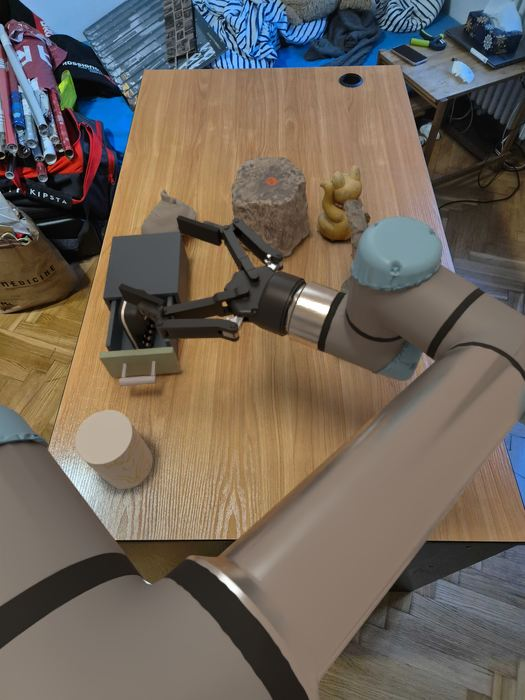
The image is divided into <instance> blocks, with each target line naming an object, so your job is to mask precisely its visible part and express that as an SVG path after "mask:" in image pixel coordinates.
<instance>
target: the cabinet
mask: <svg viewBox="0 0 525 700" xmlns="http://www.w3.org/2000/svg"><path fill="white" fill-rule="evenodd" d="M110 244H111V245H110V252H109V256H108V257H109V258H108V262H107V263H108V264H107V269H106V270H107V271H106V276H105V282H104V290H103V294H102V299H103V301H104V303H105V305H106V307H107V309H108V311H109V313H110V312H111V305H112V300H119V299H122V295H121V292H120V290H119V288H118V287H119V286H120V285H121V284H125V285H127V286H130V287H132V288H135V289H142V290H144V291H146V293H148V294H150V295H153V296H155V297H159V296H173V295H174V296H175V299H176V302H177V304H180V303H184V302H188V291H189V258H188V253H187V249H186V246H185V241H184V238H183V235H182V234H181V233H180V232H167V233H154V234H142V233H140V234H129V235H116V236H112V238H111V243H110Z"/></svg>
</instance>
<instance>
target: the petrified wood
mask: <svg viewBox="0 0 525 700" xmlns="http://www.w3.org/2000/svg"><path fill="white" fill-rule="evenodd" d="M231 200H232V201H231V206H232V215H233V219H234V218H239V219H241V220H242V221H243V222H244V223H245V224H246V225H247V226H248V227H249V228H251V229H252V230H253V231H254V232H255V233H256V234H257V235H258V236H259V237H260V238H261V239H262V240H263V241H265V242H266V243H267V244H268V245H269V246H270V247H272V248H274V249H276V250H278V251H281V252H282V253H283V257H289V256H291V255H292V252H293V250H294V248H296V247H297V246H298V245H299V244H300V243H301V241H302V240H303V239H306V238H307V237H308V236H310V231H311V229H310V224H309V215H308V211H309V203H308V196H307V181H306V176H305V173H304V172H303V171H302V170H301V169H300V168H299V166H298V167H297V166H295V164H293V163H292V161H291V159H288V158H286V157H283V156H264V157H260V156H259V157H255V158H250V159H248V160H245V161H244V162H243V163H242V164H241V166H240V167H239V168H237V170H236V175H235V180H234V182H233V183H232V185H231ZM238 241H239V243H241V246H242V248H244V249H246V250H248V251H250V250H249V249H248V248H247V247H246V246H245V245H244V244H243V243H242V242H241V241H240V240H239V239H238Z"/></svg>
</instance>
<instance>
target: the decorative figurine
mask: <svg viewBox="0 0 525 700" xmlns="http://www.w3.org/2000/svg"><path fill="white" fill-rule="evenodd" d="M361 176H362V175H361V170H360V166H359V165H358V164H353V165H352V166H351V167H350V169H349V172H341V171H339V170H338V171H335V172H334V173H333V175H332V179H331V180H330V179H324V180H322V181H321V183H320V184H319V186H320V188H322V189H323V190H324V195H323V197H322V201H321V207H322V210H323V211H322V212H320V214H319V216H318V219H317V224H316V227H317V230H318V231H319V232H320V233H321V235H323V236H324V237H325V238H326V239H329V240H330V241H331V242H332V243H334V242H336V241H341V240H342V241H343V240H344V241H348V240H349V239H351V232H352V230H351V227H350V224H349V223H348V217H347V216H346V212H345V207H344V202H346V201H347V200H357V201H360V202H362V203H363V201H362V199H361V195H362V193H363V192H362V191H363V182H362V180H361ZM361 209H362V210H363V206H362V207H361Z"/></svg>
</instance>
